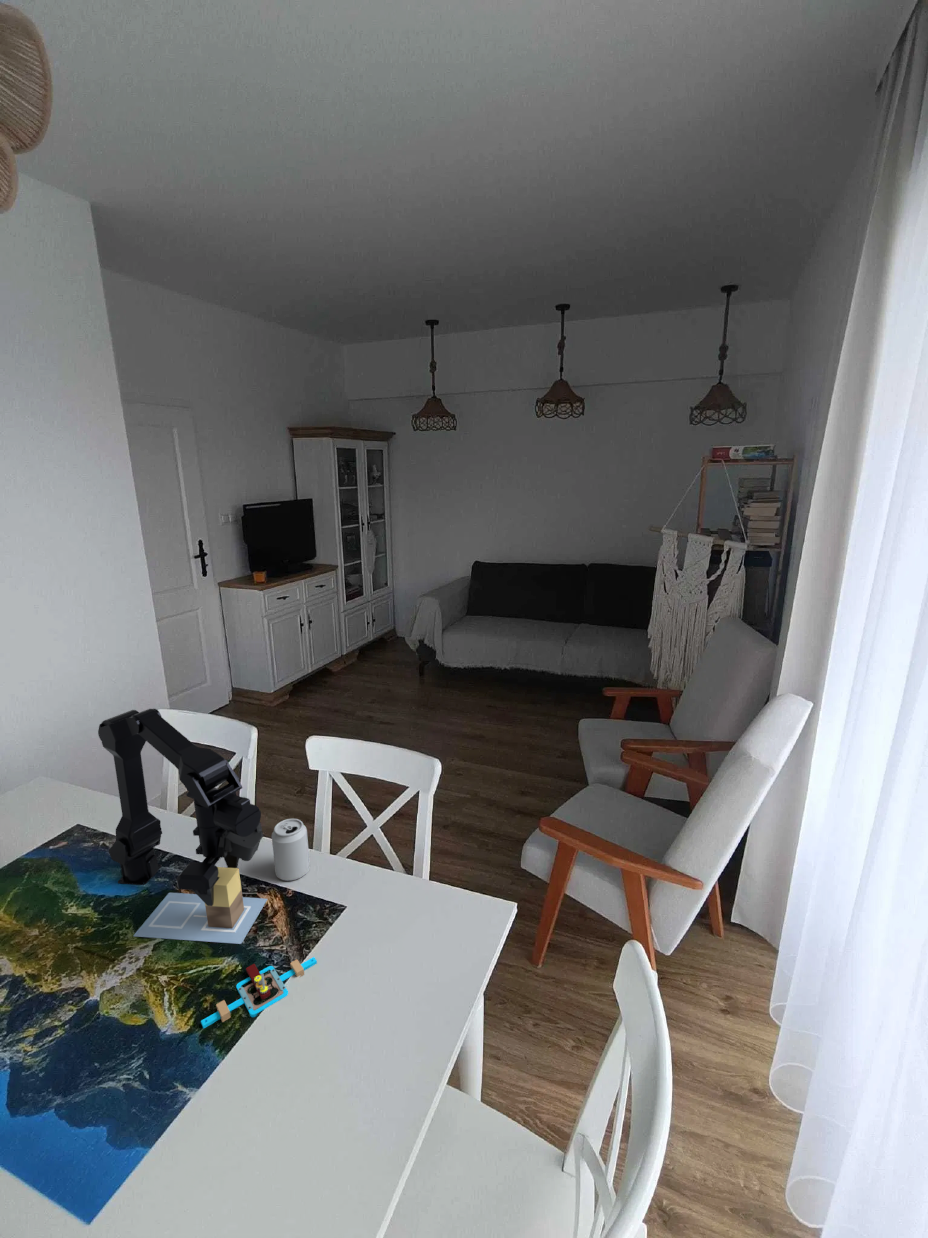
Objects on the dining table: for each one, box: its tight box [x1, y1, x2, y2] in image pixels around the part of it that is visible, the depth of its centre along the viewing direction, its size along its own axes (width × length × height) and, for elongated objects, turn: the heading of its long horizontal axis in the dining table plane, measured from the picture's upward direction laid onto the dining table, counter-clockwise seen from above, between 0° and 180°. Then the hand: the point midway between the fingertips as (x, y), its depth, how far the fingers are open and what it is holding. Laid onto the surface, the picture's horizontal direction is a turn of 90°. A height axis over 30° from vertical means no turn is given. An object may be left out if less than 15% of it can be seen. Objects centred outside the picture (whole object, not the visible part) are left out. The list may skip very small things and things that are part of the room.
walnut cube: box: [205, 888, 244, 928], centre depth 116 cm, size 5×5×5 cm
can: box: [271, 818, 311, 882], centre depth 129 cm, size 8×8×12 cm
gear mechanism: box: [200, 956, 318, 1029], centre depth 101 cm, size 20×5×9 cm
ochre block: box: [205, 866, 242, 907], centre depth 115 cm, size 5×5×5 cm
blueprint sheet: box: [133, 892, 268, 945], centre depth 117 cm, size 22×12×1 cm, turn 84°
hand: (222, 888), depth 115 cm, fingers open, 9 cm apart
